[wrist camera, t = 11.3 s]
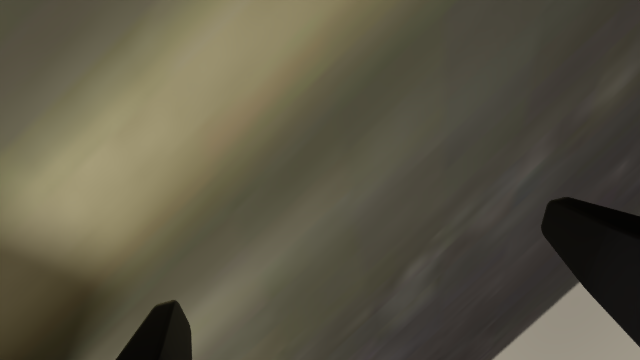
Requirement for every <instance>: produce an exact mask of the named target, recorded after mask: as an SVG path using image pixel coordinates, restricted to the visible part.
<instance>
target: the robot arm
mask: <svg viewBox="0 0 640 360" xmlns="http://www.w3.org/2000/svg"><path fill="white" fill-rule="evenodd" d="M541 230H542V233H543V235H544V237H545V238H546V239H547V240H548V242H549V243H550V244H551V246H552V247H553V248H554V249H555V251H556V252H557V253H558V255H559V256H560V257H561V258H562V260H563V261H564V262H565V264H566V265H567V266H568V267H569V269H570V270H571V271H572V273H573V274H574V275H575V276H576V278H577V279H578V280H579V281H580V283H581V284H582V285H583V286H584V288H585V289H586V290H587V291H588V292H589V293H590V294H591V295H592V296H593V298H594V299H595V300H596V301H597V302H598V303H599V304H600V305H601V306H602V307H603V308H604V309H605V310H606V312H608V314H609V315H610V316H611V317H612V318H613V319H614V320H615V321H616V322H617V323H618V324H619V325H620V326H621V328H622V329H623V330H624V331H625V332H626V333H627V334H628V335H629V336H630V337H631V338H632V339H633V341H634V342H636V344H637V345H638V346H639V347H640V216H636V215H633V214H629V213H625V212H622V211H618V210H614V209H610V208H607V207H603V206H599V205H596V204H592V203H588V202H585V201H581V200H577V199H574V198H570V197H562V198H559V199H555V200H551V201H550V202H549V203H548V204H547V207H546V210H545V214H544V217H543V221H542V225H541ZM116 360H192V343H191V329H190V325H189V322H188V320H187V318H186V316H185V314H184V312H183V310H182V308H181V306H180V304H179V303H178V302H177V301H176V300H171V301H168V302H164V303H160V304H157V305H156V306H155V307H154V308H153V309H152V310H151V311H150V313H149V314H148V316H147V317H146V318H145V320H144V321H143V323H142V324H141V325H140V327H139V328H138V329H137V331H136V332H135V334H134V335H133V336H132V338H131V339H130V340H129V342H128V343H127V345H126V346H125V347H124V349H123V350H122V351H121V353H120V354H119V356H118V357H117V358H116Z"/></svg>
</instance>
